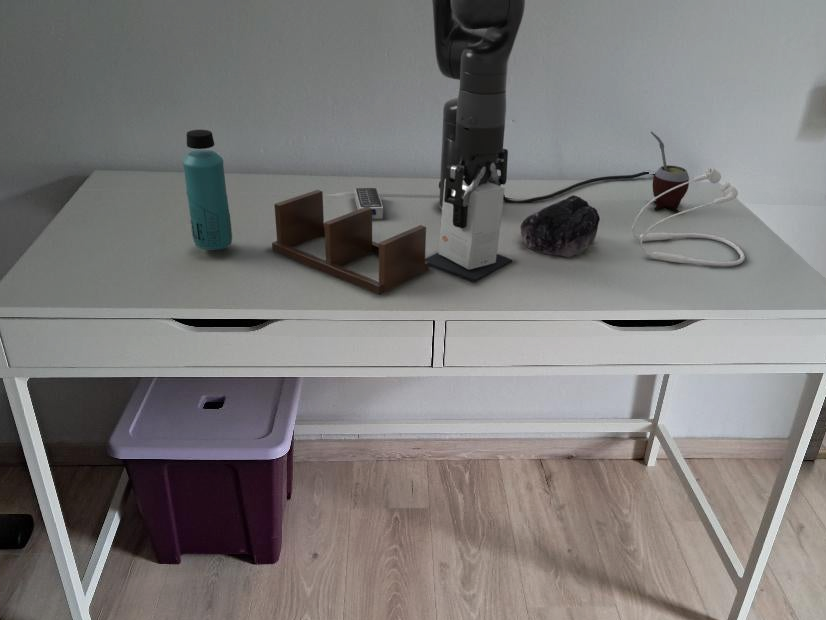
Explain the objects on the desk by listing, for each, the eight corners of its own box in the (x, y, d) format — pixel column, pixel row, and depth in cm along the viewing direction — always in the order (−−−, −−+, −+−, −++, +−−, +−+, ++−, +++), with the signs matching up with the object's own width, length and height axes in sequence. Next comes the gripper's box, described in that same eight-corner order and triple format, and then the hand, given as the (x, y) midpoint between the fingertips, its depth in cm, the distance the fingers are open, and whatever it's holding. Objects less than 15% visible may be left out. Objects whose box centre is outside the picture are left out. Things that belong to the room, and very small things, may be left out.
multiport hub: (376, 198, 159) (376, 187, 157) (383, 219, 150) (383, 207, 148) (354, 199, 158) (354, 187, 157) (359, 219, 149) (359, 207, 148)
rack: (324, 230, 143) (322, 187, 139) (429, 270, 131) (431, 224, 127) (272, 250, 135) (268, 205, 131) (379, 295, 123) (379, 247, 119)
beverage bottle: (241, 247, 136) (229, 128, 125) (219, 262, 130) (205, 139, 119) (208, 240, 137) (193, 123, 126) (185, 255, 132) (168, 133, 121)
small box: (496, 263, 134) (506, 187, 127) (468, 270, 130) (476, 192, 123) (464, 247, 139) (472, 173, 132) (436, 254, 135) (443, 178, 128)
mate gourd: (690, 210, 162) (706, 136, 154) (663, 217, 158) (678, 141, 150) (663, 199, 167) (677, 126, 159) (636, 205, 163) (649, 131, 155)
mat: (460, 244, 141) (461, 241, 141) (512, 262, 136) (512, 259, 135) (421, 263, 134) (421, 260, 133) (474, 283, 128) (474, 279, 128)
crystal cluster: (507, 236, 147) (510, 186, 141) (572, 223, 151) (577, 174, 145) (540, 271, 137) (545, 219, 131) (608, 256, 141) (615, 205, 135)
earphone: (620, 214, 147) (707, 155, 141) (663, 278, 154) (747, 224, 149) (638, 244, 135) (733, 180, 130) (684, 311, 143) (775, 254, 137)
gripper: (486, 106, 128) (480, 202, 137) (433, 123, 119) (430, 225, 128) (525, 115, 125) (516, 213, 134) (474, 133, 115) (468, 238, 124)
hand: (474, 219), depth 131 cm, fingers open, 8 cm apart
